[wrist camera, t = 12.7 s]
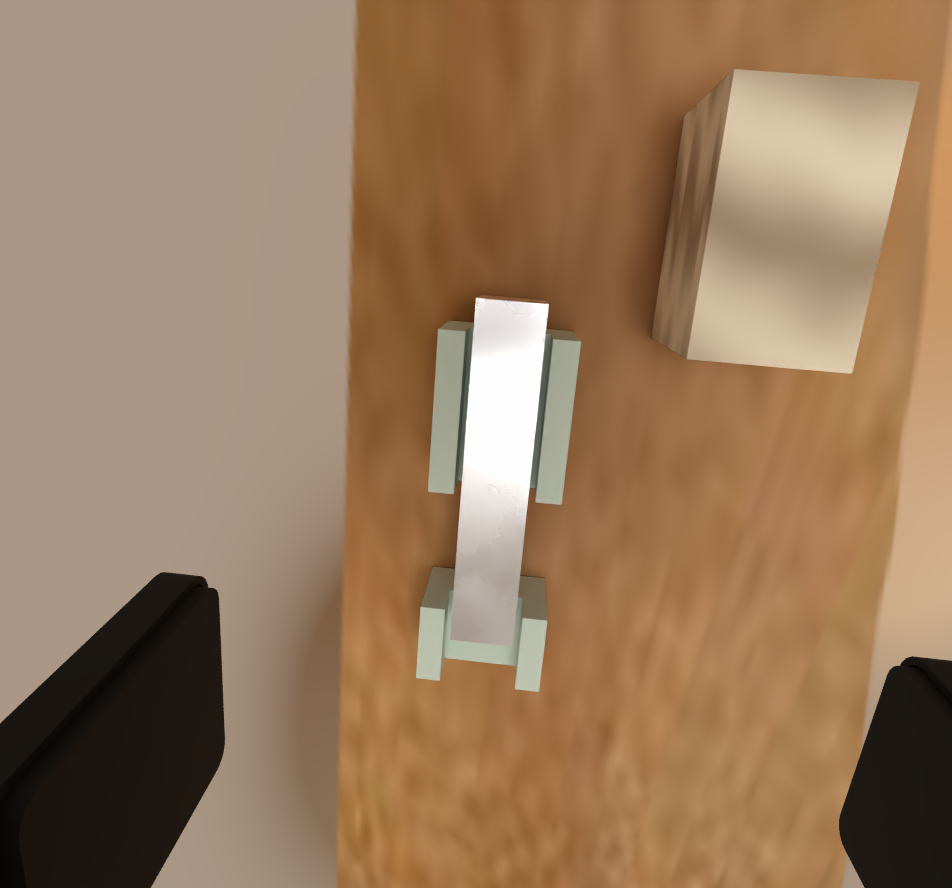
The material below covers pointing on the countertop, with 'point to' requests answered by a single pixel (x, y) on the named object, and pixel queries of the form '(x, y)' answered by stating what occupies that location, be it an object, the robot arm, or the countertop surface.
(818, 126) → the block
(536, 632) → the cradle
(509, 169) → the countertop surface
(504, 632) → the axle
